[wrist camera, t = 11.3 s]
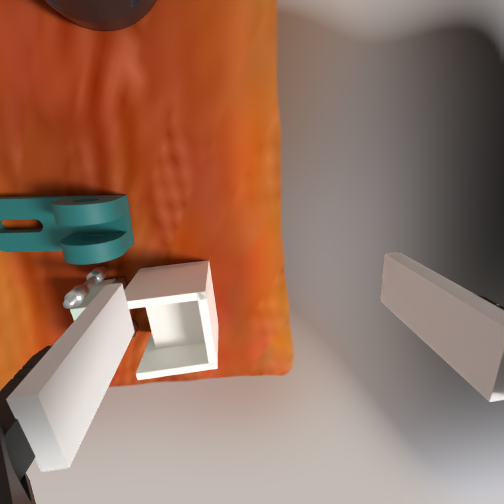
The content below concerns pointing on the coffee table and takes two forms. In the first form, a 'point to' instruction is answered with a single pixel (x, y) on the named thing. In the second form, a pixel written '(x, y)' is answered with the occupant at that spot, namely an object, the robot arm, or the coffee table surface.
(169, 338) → the cabinet
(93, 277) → the small parts
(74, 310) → the door
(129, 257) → the coffee table surface
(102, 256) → the bracket
